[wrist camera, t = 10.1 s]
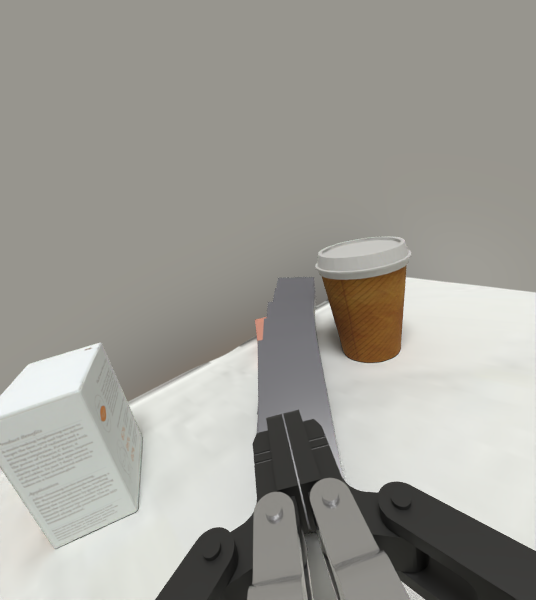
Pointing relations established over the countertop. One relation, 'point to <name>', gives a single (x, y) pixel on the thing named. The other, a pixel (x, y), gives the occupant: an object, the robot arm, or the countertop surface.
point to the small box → (71, 444)
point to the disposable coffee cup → (366, 294)
